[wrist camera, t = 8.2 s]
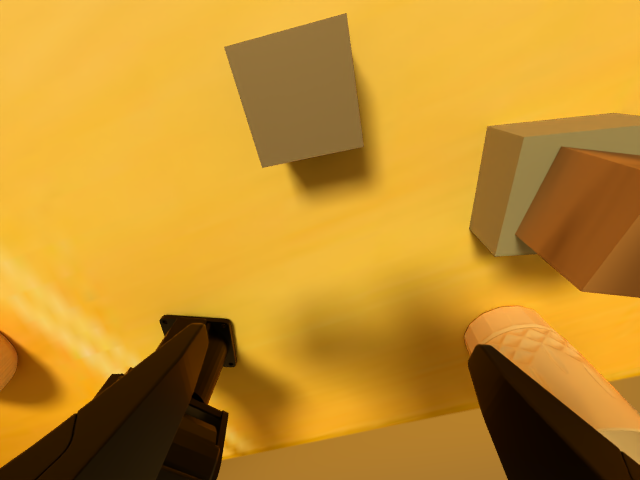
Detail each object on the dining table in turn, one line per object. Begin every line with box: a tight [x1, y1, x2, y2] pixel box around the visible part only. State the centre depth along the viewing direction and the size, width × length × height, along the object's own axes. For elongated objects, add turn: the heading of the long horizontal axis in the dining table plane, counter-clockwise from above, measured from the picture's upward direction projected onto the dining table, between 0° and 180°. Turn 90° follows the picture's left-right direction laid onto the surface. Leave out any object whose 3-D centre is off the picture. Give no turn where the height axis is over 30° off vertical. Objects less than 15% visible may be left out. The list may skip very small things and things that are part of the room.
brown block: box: [224, 13, 364, 168], centre depth 14 cm, size 5×5×5 cm
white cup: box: [464, 306, 640, 465], centre depth 21 cm, size 8×8×10 cm
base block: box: [469, 113, 640, 256], centre depth 17 cm, size 7×7×4 cm
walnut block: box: [515, 146, 640, 298], centre depth 13 cm, size 5×5×5 cm
